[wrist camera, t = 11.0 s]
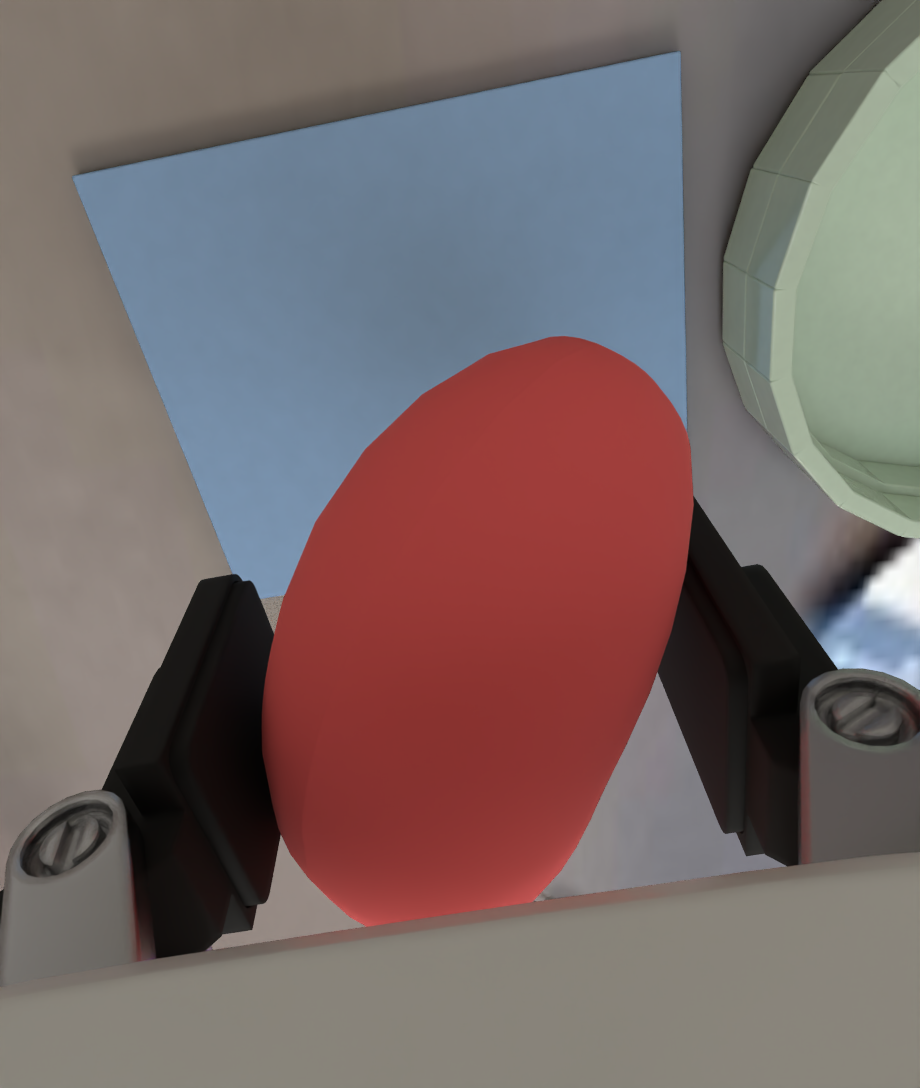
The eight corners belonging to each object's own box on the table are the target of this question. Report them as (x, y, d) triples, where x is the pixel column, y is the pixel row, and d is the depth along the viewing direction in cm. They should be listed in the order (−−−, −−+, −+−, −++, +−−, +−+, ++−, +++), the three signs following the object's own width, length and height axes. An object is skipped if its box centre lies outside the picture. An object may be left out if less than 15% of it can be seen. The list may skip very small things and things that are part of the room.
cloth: (76, 175, 20) (70, 176, 20) (676, 51, 19) (681, 50, 19) (245, 595, 27) (243, 602, 27) (685, 520, 26) (689, 525, 26)
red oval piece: (187, 634, 14) (220, 1016, 11) (329, 221, 8) (508, 866, 5) (432, 625, 17) (515, 933, 14) (694, 310, 10) (967, 763, 7)
